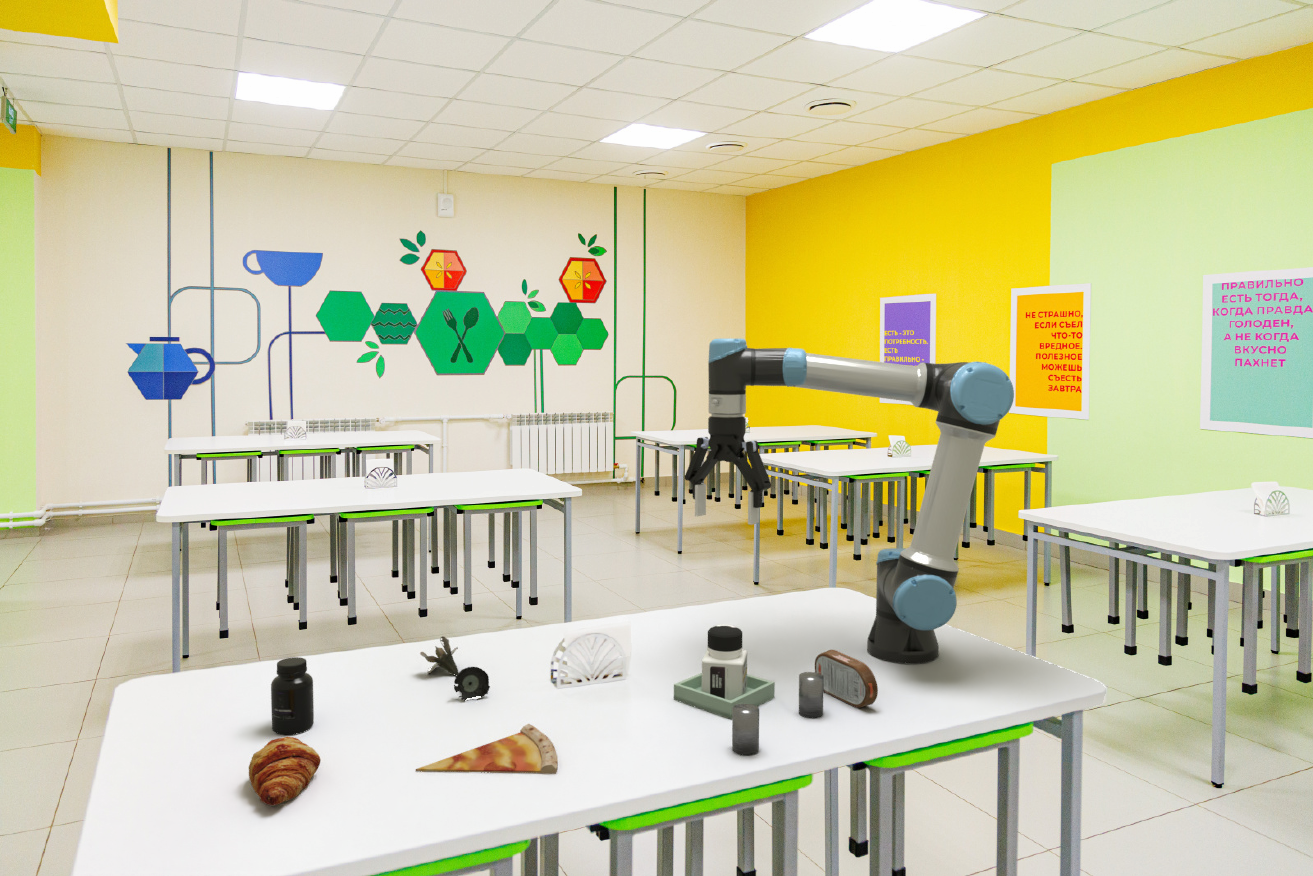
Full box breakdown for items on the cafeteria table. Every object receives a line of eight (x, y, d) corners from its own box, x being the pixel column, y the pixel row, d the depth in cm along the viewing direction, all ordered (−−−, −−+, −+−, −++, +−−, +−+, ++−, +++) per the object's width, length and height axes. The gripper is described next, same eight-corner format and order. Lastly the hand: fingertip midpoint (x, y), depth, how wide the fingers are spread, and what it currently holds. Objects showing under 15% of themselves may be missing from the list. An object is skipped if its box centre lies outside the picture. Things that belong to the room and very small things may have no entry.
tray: (718, 680, 177) (718, 665, 177) (774, 697, 168) (774, 682, 168) (673, 699, 167) (673, 684, 167) (731, 719, 158) (731, 703, 158)
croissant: (273, 775, 145) (246, 736, 143) (330, 739, 147) (304, 701, 145) (256, 839, 125) (225, 794, 123) (322, 797, 127) (292, 753, 125)
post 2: (807, 707, 164) (807, 670, 163) (827, 713, 161) (828, 676, 160) (793, 714, 160) (794, 676, 160) (814, 720, 157) (815, 682, 157)
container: (742, 704, 163) (743, 635, 162) (701, 700, 164) (701, 632, 163) (747, 688, 170) (747, 623, 169) (707, 685, 172) (707, 620, 171)
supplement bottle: (273, 739, 150) (270, 670, 149) (270, 724, 156) (268, 658, 155) (316, 731, 153) (314, 664, 152) (312, 717, 159) (309, 652, 158)
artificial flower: (449, 713, 164) (432, 664, 163) (429, 687, 185) (413, 642, 184) (494, 693, 168) (478, 644, 167) (469, 669, 189) (454, 626, 188)
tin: (878, 711, 162) (879, 666, 161) (865, 715, 160) (866, 670, 159) (823, 685, 175) (824, 644, 174) (811, 688, 173) (811, 646, 172)
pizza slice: (443, 732, 154) (442, 721, 154) (569, 734, 153) (569, 723, 153) (415, 774, 138) (415, 762, 138) (556, 777, 138) (556, 764, 137)
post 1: (742, 741, 149) (743, 701, 148) (764, 749, 146) (764, 708, 145) (726, 750, 146) (727, 709, 145) (748, 758, 143) (748, 716, 142)
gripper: (668, 413, 183) (668, 514, 185) (767, 419, 167) (766, 530, 168) (691, 412, 189) (691, 510, 191) (789, 417, 172) (788, 524, 174)
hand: (726, 519), depth 180 cm, fingers open, 13 cm apart
